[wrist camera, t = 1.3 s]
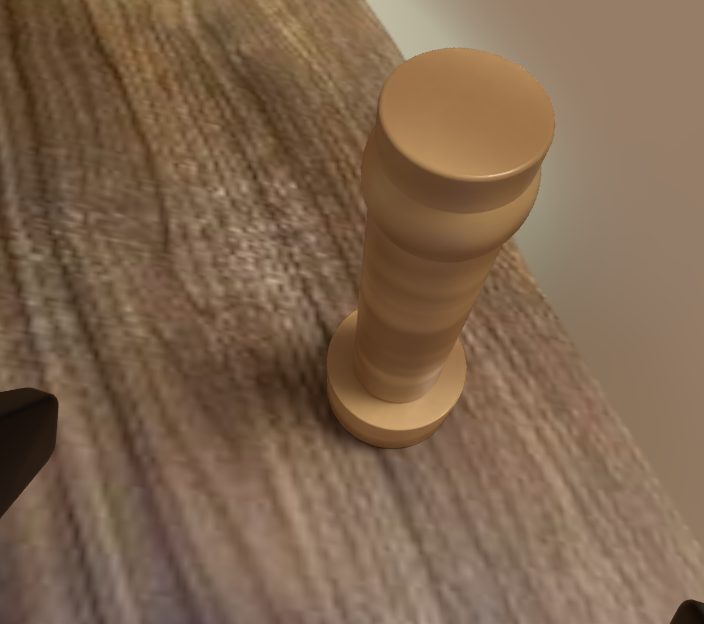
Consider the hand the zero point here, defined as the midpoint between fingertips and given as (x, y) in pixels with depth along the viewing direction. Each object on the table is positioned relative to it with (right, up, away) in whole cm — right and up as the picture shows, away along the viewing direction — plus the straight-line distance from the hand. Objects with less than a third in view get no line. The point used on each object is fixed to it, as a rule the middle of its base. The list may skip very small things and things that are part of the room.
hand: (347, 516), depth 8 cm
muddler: (+2, 0, +14) cm, 14 cm away
